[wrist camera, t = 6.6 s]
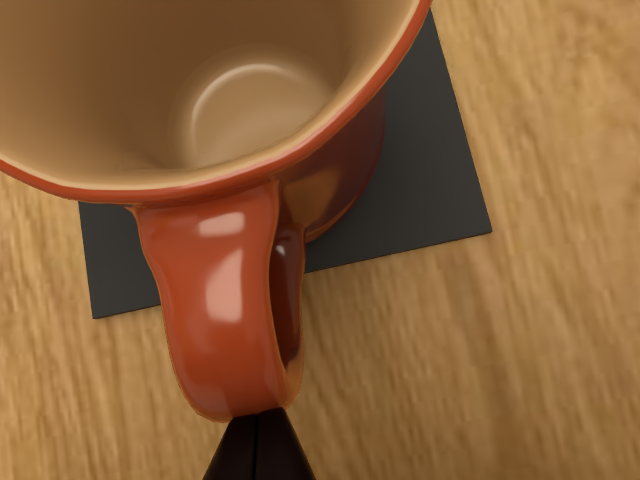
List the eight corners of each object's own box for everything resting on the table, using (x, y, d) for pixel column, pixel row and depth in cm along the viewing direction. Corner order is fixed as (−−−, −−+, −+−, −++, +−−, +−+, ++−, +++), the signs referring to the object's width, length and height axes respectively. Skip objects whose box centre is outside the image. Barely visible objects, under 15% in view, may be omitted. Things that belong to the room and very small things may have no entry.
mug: (129, 55, 19) (-125, -259, 9) (376, 10, 19) (391, -368, 9) (160, 408, 17) (-134, 499, 7) (444, 365, 17) (569, 396, 6)
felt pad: (491, 232, 17) (492, 231, 17) (95, 319, 18) (92, 318, 18) (415, -40, 19) (416, -43, 19) (61, 44, 20) (58, 41, 20)
